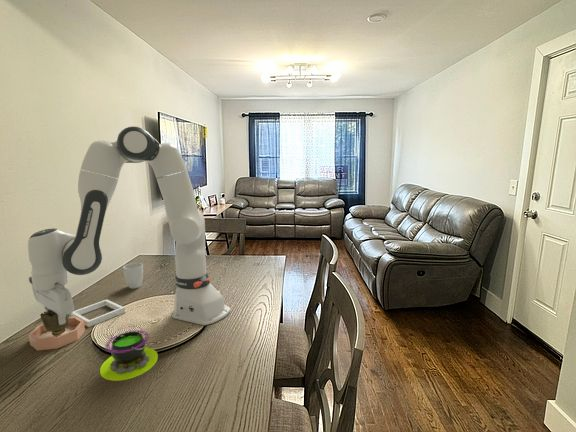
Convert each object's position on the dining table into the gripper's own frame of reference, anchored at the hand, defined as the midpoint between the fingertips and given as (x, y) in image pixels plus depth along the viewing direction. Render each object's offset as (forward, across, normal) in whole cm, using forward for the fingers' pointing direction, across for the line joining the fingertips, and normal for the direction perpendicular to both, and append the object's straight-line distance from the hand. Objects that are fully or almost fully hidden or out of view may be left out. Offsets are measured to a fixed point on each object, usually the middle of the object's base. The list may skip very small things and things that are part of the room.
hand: (56, 320), depth 102 cm
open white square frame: (+6, +5, -15) cm, 17 cm away
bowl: (+6, 0, 0) cm, 6 cm away
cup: (+6, +19, -38) cm, 43 cm away
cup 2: (+5, -1, 0) cm, 5 cm away
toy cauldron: (+6, -32, -6) cm, 33 cm away
